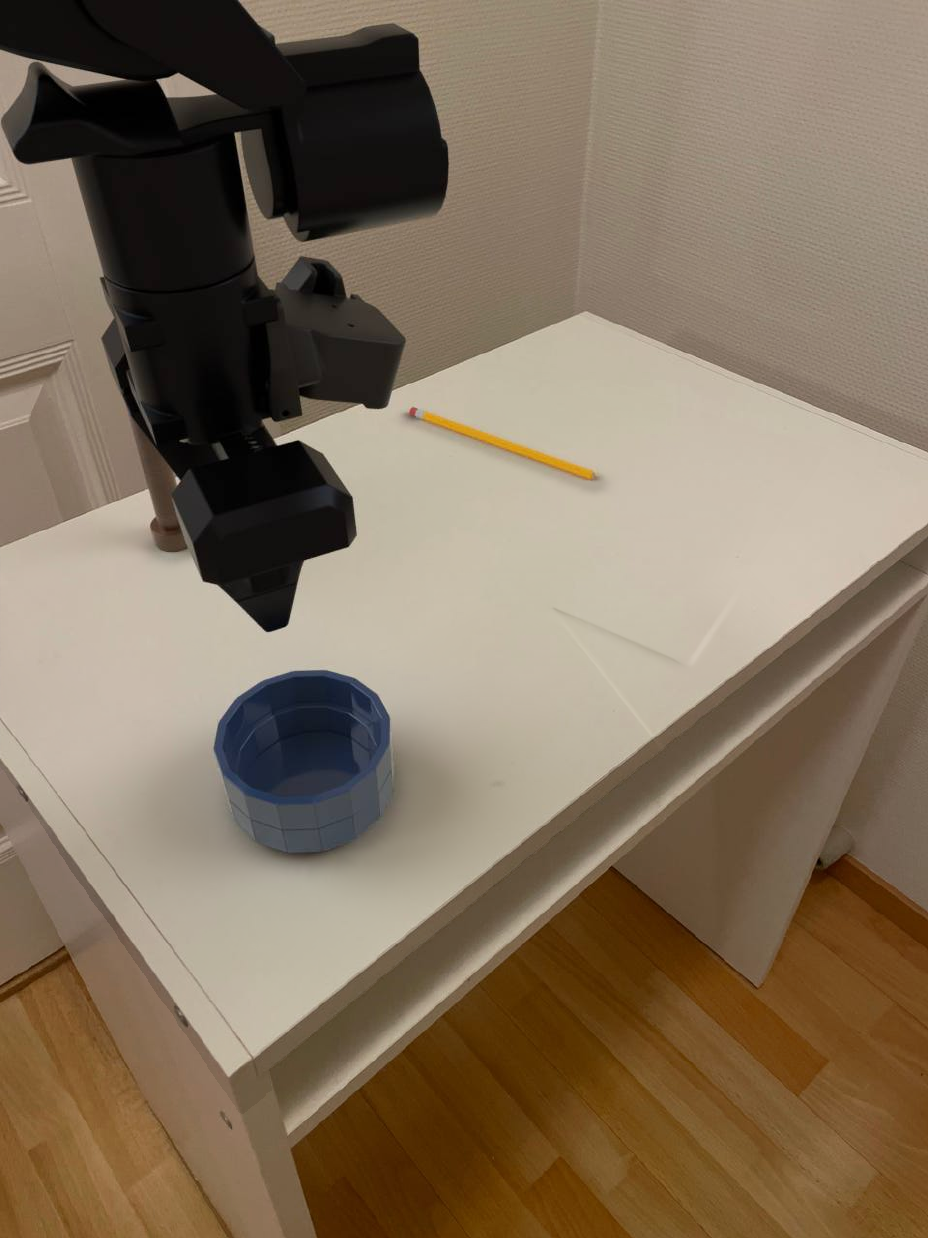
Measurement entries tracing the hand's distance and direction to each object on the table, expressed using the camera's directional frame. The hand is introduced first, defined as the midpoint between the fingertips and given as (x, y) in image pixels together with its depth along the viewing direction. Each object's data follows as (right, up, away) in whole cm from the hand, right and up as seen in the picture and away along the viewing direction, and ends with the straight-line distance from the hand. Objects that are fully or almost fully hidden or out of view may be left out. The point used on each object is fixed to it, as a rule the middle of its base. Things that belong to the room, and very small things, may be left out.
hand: (247, 570), depth 47 cm
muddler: (-11, +4, +24) cm, 27 cm away
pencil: (+14, +12, +34) cm, 39 cm away
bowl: (+2, -12, +8) cm, 15 cm away
